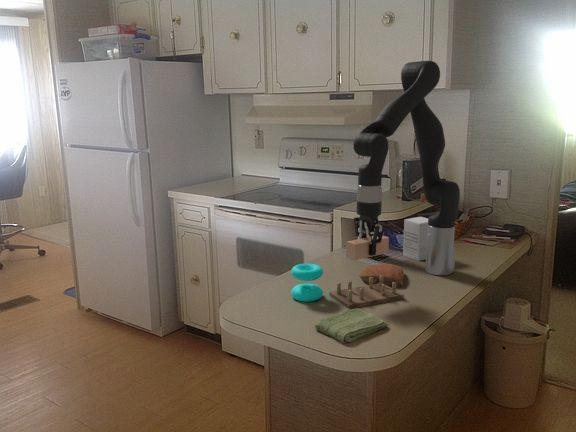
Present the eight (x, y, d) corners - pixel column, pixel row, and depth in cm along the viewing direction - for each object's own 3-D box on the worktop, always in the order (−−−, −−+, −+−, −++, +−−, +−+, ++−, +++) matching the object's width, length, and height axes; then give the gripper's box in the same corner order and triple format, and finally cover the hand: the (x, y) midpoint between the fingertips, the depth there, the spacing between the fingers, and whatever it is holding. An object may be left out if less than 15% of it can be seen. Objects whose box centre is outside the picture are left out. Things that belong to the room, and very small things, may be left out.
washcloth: (390, 328, 150) (390, 317, 150) (345, 347, 139) (345, 335, 139) (356, 314, 160) (356, 303, 160) (311, 330, 149) (311, 319, 149)
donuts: (297, 260, 177) (326, 264, 173) (297, 289, 179) (326, 293, 175) (286, 270, 167) (317, 273, 164) (286, 300, 170) (317, 304, 166)
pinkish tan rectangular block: (379, 249, 174) (380, 234, 173) (388, 252, 171) (388, 237, 170) (346, 257, 167) (346, 241, 166) (354, 260, 164) (355, 244, 162)
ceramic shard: (362, 257, 197) (404, 265, 194) (359, 274, 197) (401, 283, 195) (360, 264, 182) (405, 273, 180) (356, 283, 183) (401, 292, 180)
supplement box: (418, 252, 220) (420, 216, 217) (435, 257, 213) (437, 220, 209) (401, 255, 215) (403, 218, 212) (418, 261, 208) (420, 223, 205)
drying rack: (381, 286, 182) (382, 272, 181) (403, 298, 171) (404, 284, 170) (329, 295, 174) (329, 281, 172) (348, 308, 163) (349, 294, 162)
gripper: (393, 202, 160) (391, 257, 164) (367, 194, 173) (365, 246, 177) (371, 204, 157) (370, 261, 161) (346, 196, 170) (345, 248, 174)
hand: (367, 252), depth 169 cm, fingers closed on pinkish tan rectangular block, 4 cm apart
